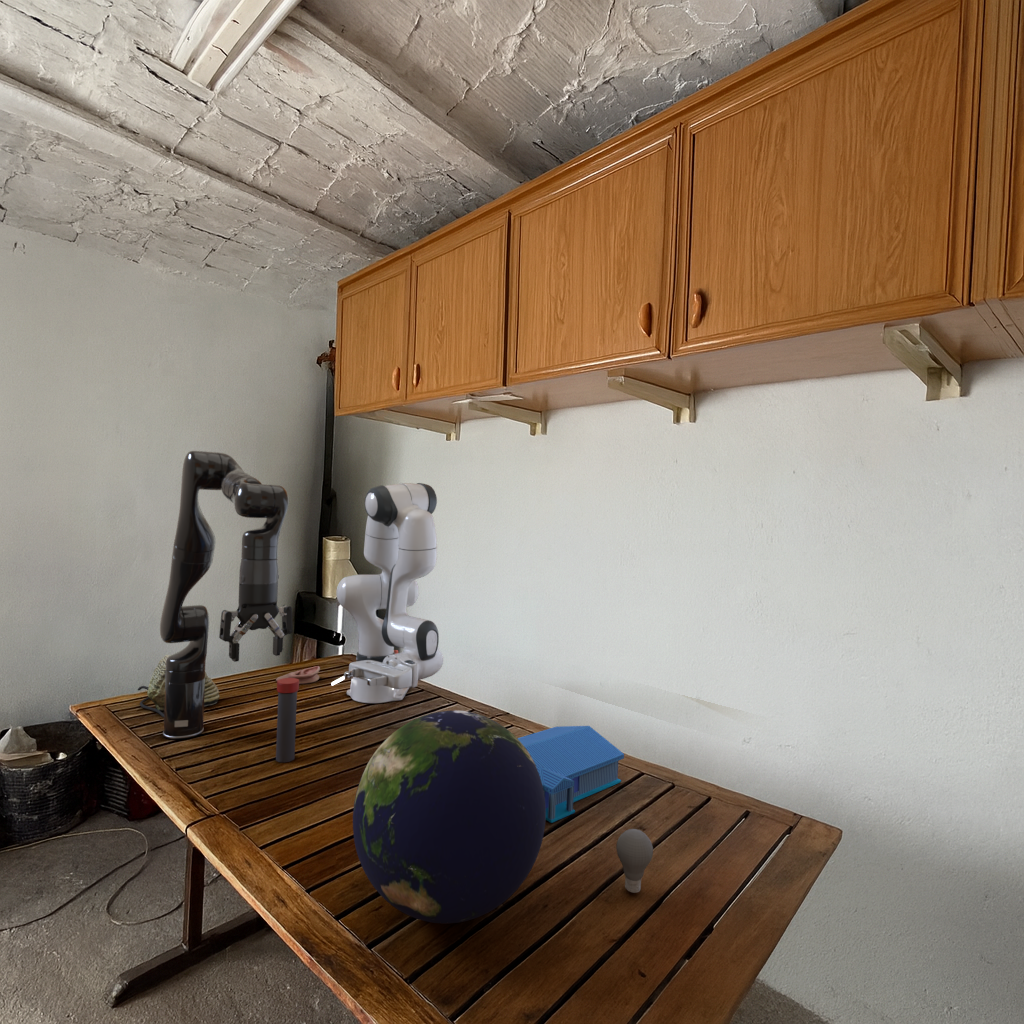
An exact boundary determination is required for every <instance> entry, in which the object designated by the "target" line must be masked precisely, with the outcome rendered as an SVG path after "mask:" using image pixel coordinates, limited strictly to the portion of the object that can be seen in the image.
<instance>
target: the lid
mask: <svg viewBox="0 0 1024 1024" xmlns="http://www.w3.org/2000/svg"><path fill="white" fill-rule="evenodd" d="M299 690H300V684H299V679H296V678H283V679H279V680H278V681H276V692H277V693H278V692H279V693H293V692H297V693H298V691H299Z"/></svg>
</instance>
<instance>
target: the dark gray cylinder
mask: <svg viewBox="0 0 1024 1024" xmlns="http://www.w3.org/2000/svg"><path fill="white" fill-rule="evenodd" d="M297 703H298V691H297V692H293V693H279V692H277V715H276V716H277V719H276V720H277V721H276V743H275V745H276V746H275V762H278V763H290V762H292V761H294V760H295V757H296V755H295V754H296V730H297V706H298V705H297Z"/></svg>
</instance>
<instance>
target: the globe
mask: <svg viewBox="0 0 1024 1024" xmlns="http://www.w3.org/2000/svg"><path fill="white" fill-rule="evenodd" d="M517 738H518V737H517V736H516V735H515V734H513V732H511V730H509V729H507V728H506V727H505V726H503V725H502V724H500V723H498V722H497V721H495V720H493V719H492V718H489V717H487V716H485V715H481V714H479V713H476V712H471V711H467V710H458V709H457V710H442V711H435V712H431V713H428V714H425V715H422V716H419V717H417V718H415V719H413V720H410V721H409V722H407V723H405V724H404V725H402V726H400V727H399V728H398V729H397V730H395V731H394V732H392V734H390V735H389V736H388V737H386V739H385V740H384V741H383V742H382V743H381V744H380V745H379V746H378V747H377V749H376V750H375V752H374V753H373V755H372V756H371V757H370V759H369V761H368V762H367V764H366V766H365V768H364V771H363V772H362V775H361V777H360V780H359V783H358V786H357V789H356V793H355V797H354V803H353V808H352V831H353V841H354V845H355V846H354V847H355V851H356V855H357V856H358V860H359V863H360V866H361V868H362V870H363V872H364V874H365V876H366V877H367V878H368V881H369V882H370V884H371V885H372V887H373V888H374V889H375V890H376V891H377V893H378V895H380V896H381V897H382V898H383V899H384V900H385V901H386V902H387V903H388V904H389V905H391V906H392V907H394V908H395V909H396V910H398V911H399V912H401V913H403V914H404V915H407V916H409V917H411V918H414V919H416V920H419V921H423V922H427V923H432V924H441V925H443V924H447V925H448V924H458V923H463V922H468V921H471V920H474V919H478V918H480V917H482V916H484V915H487V914H489V913H490V912H492V911H494V910H495V909H497V908H498V907H500V906H501V905H503V904H504V903H505V902H506V901H507V900H508V899H509V898H511V897H512V896H513V895H514V894H515V892H516V891H517V890H519V888H520V887H521V886H522V884H523V883H524V882H525V880H526V879H527V877H528V876H529V874H530V872H531V870H532V869H533V867H534V865H535V863H536V860H537V858H538V856H539V853H540V850H541V847H542V844H543V839H544V834H545V830H546V829H545V828H546V821H547V820H546V806H545V796H544V791H543V786H542V782H541V779H540V775H539V773H538V770H537V768H536V765H535V763H534V761H533V759H532V757H531V756H530V754H529V752H528V751H527V749H526V748H525V747H524V746H523V744H522V743H521V742H520V741H519V740H518V739H517Z"/></svg>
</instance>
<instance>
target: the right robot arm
mask: <svg viewBox="0 0 1024 1024" xmlns="http://www.w3.org/2000/svg"><path fill="white" fill-rule="evenodd" d="M437 503H438V498H437V494H436V492H435V489H434V488H433V487H432V485H430V484H426V483H422V482H418V483H417V482H416V483H413V482H400V483H394V484H387V485H377V486H374V487H371V488H369V489H368V490H367V491H366V495H365V497H364V509H365V510H364V511H365V513H366V514H367V519H366V524H365V533H364V544H363V556H364V559H365V560H366V561H367V562H368V563H369V564H370V565H372V566H374V567H376V568H378V569H380V570H381V573H379V574H354V575H349V576H344V577H343V578H342V579H340V581H339V582H338V584H337V588H336V592H335V593H336V594H335V596H336V599H337V601H338V603H339V605H340V606H341V607H342V608H343V609H345V610H346V611H347V612H348V613H349V614H350V615H351V616H352V618H353V619H354V622H355V624H356V627H357V638H358V639H357V640H358V648H357V649H358V651H357V652H356V657H355V660H356V661H352V662H350V663H349V665H348V671H345V672H344V674H343V676H341V677H339V678H337V679H335V680H334V681H332V682H331V686H334V685H336V684H338V683H340V682H342V681H344V680H345V679H346V680H350V688H349V689H347V690H346V693H345V694H346V695H347V696H350V698H351V699H352V700H353V701H355V702H359V703H365V704H383V703H388V702H395V701H402V700H403V699H404V697H405V696H406V695H407V693H408V692H409V689H410V688H412V689H413V688H416V687H418V683H419V681H422V680H425V679H428V678H429V677H432V676H434V675H435V674H437V673H438V672H439V671H440V670H441V669H442V667H443V664H444V655H443V653H442V651H441V649H440V648H439V642H440V641H439V640H440V637H439V636H440V635H439V630H438V626H437V625H436V624H435V622H433V621H432V620H430V619H425V618H421V617H415V616H411V615H409V614H408V612H407V608H408V607H412V606H414V605H415V603H417V600H418V599H419V595H420V587H419V583H418V582H417V580H419V579H422V578H424V577H426V576H428V575H429V574H431V572H433V570H434V569H435V567H436V566H437V560H438V538H437V537H438V536H437V528H436V524H435V519H434V516H433V513H434V512H435V511H436V508H437ZM377 610H385V615H384V619H383V618H380V617H378V616H377ZM395 648H398V649H403V651H401V652H399V650H398V649H395Z"/></svg>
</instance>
